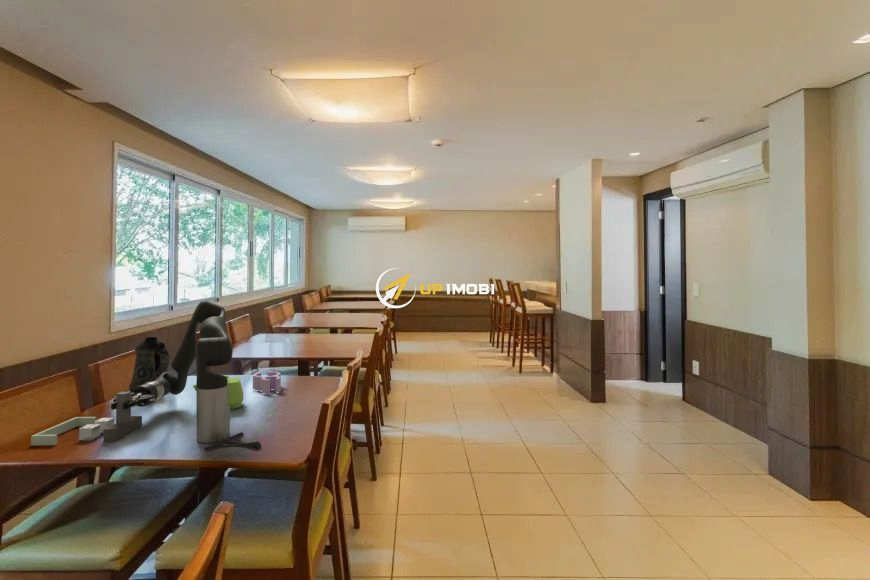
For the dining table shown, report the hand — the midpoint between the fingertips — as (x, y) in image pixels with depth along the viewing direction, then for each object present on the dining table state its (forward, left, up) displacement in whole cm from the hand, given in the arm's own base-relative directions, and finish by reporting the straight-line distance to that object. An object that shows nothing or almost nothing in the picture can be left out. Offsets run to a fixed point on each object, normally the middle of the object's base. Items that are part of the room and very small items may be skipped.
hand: (118, 406), depth 147 cm
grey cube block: (+9, +1, -10) cm, 13 cm away
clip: (-30, -63, -11) cm, 70 cm away
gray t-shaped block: (0, -3, -10) cm, 11 cm away
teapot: (-19, -33, -10) cm, 39 cm away
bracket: (-42, +9, -11) cm, 45 cm away
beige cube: (+9, -6, -10) cm, 15 cm away
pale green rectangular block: (+18, -3, -10) cm, 21 cm away
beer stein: (+21, -60, -10) cm, 64 cm away
